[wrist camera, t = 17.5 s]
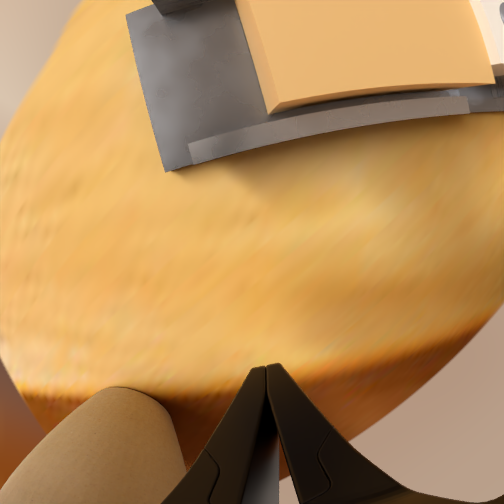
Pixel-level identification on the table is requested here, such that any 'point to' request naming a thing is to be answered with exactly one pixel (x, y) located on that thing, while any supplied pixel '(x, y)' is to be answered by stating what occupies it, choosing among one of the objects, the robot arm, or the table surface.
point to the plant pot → (102, 455)
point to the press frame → (247, 88)
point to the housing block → (492, 30)
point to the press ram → (361, 48)
